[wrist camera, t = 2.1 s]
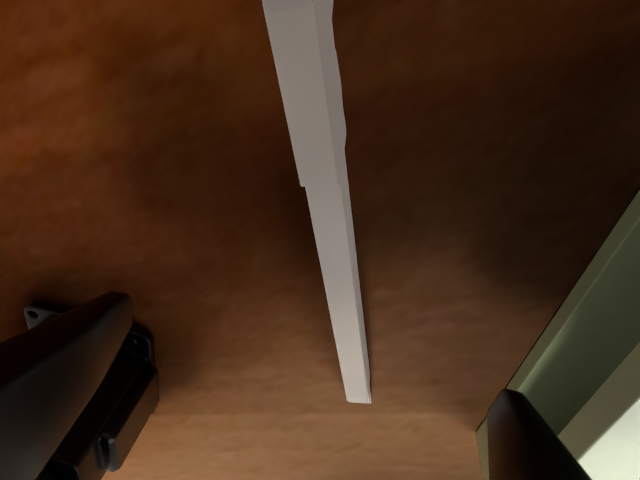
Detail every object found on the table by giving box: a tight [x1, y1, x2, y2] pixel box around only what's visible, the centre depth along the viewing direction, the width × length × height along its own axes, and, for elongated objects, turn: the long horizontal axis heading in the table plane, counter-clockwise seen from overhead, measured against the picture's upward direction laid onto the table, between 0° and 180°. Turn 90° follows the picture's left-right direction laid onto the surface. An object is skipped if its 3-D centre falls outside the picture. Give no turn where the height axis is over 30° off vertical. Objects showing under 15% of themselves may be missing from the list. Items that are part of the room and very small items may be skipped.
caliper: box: [262, 0, 371, 403], centre depth 13 cm, size 20×1×6 cm, turn 8°
